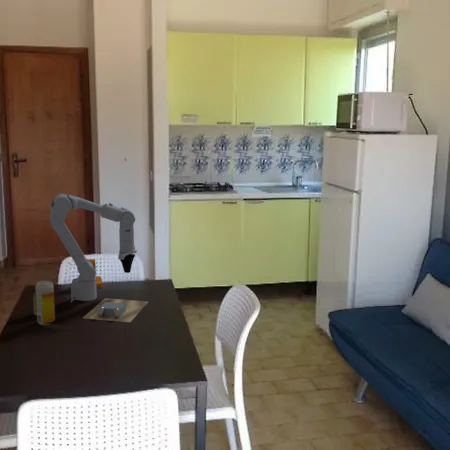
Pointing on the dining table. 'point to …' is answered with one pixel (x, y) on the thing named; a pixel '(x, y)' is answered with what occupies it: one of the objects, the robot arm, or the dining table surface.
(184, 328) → the dining table surface
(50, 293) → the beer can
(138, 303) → the board
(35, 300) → the lighter
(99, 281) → the bracket
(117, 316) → the bench dogs
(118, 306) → the bevelled grey block
